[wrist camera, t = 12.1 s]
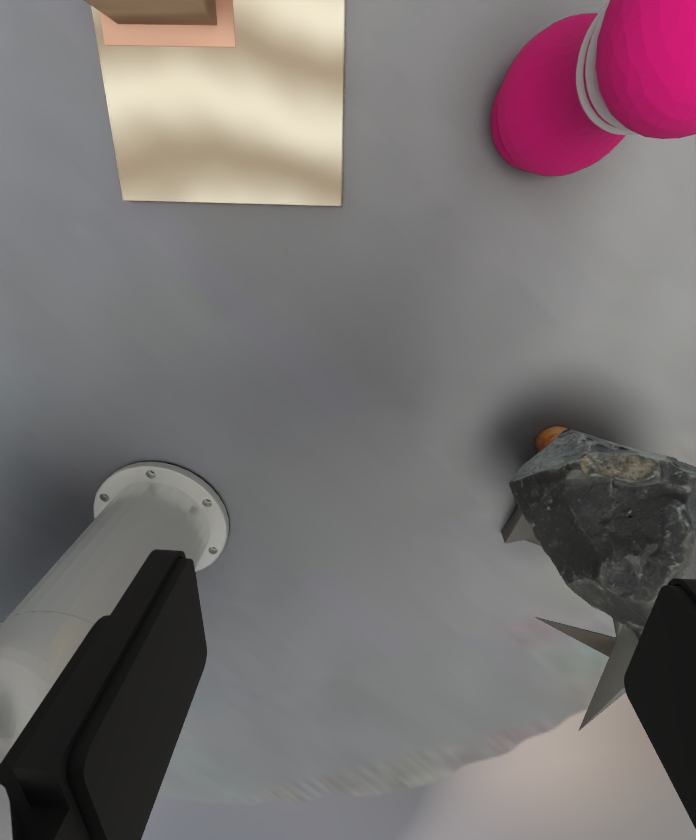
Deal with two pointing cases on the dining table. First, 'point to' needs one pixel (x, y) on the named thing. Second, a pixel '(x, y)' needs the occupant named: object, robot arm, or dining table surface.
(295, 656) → the dining table surface
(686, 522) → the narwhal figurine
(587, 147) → the pepper mill
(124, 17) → the walnut base block
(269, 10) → the cream wavy board
